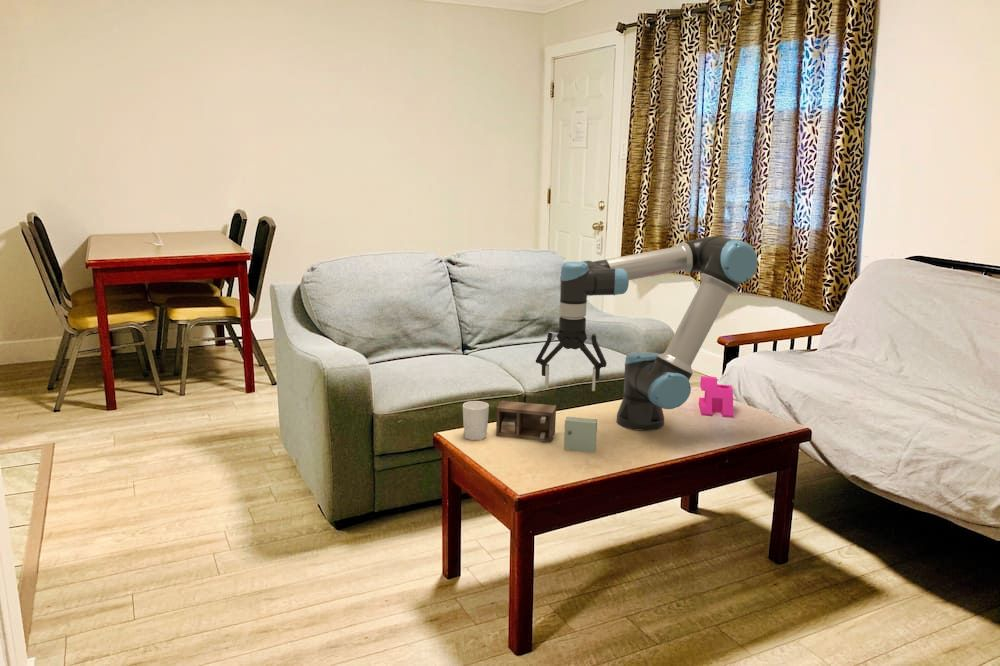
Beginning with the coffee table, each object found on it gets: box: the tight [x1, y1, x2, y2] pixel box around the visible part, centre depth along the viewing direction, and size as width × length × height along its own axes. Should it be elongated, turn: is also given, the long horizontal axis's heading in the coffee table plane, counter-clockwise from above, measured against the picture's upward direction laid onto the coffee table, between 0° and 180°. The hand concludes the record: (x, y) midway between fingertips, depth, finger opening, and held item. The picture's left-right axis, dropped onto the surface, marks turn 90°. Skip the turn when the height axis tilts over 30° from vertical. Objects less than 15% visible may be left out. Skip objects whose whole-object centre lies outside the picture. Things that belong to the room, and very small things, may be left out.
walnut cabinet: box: [495, 400, 557, 442], centre depth 232 cm, size 17×10×9 cm, turn 77°
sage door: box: [563, 416, 598, 454], centre depth 222 cm, size 9×4×9 cm, turn 77°
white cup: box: [462, 400, 490, 441], centre depth 231 cm, size 8×8×10 cm
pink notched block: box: [698, 375, 734, 419], centre depth 258 cm, size 12×10×10 cm
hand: (570, 388), depth 222 cm, fingers open, 13 cm apart
